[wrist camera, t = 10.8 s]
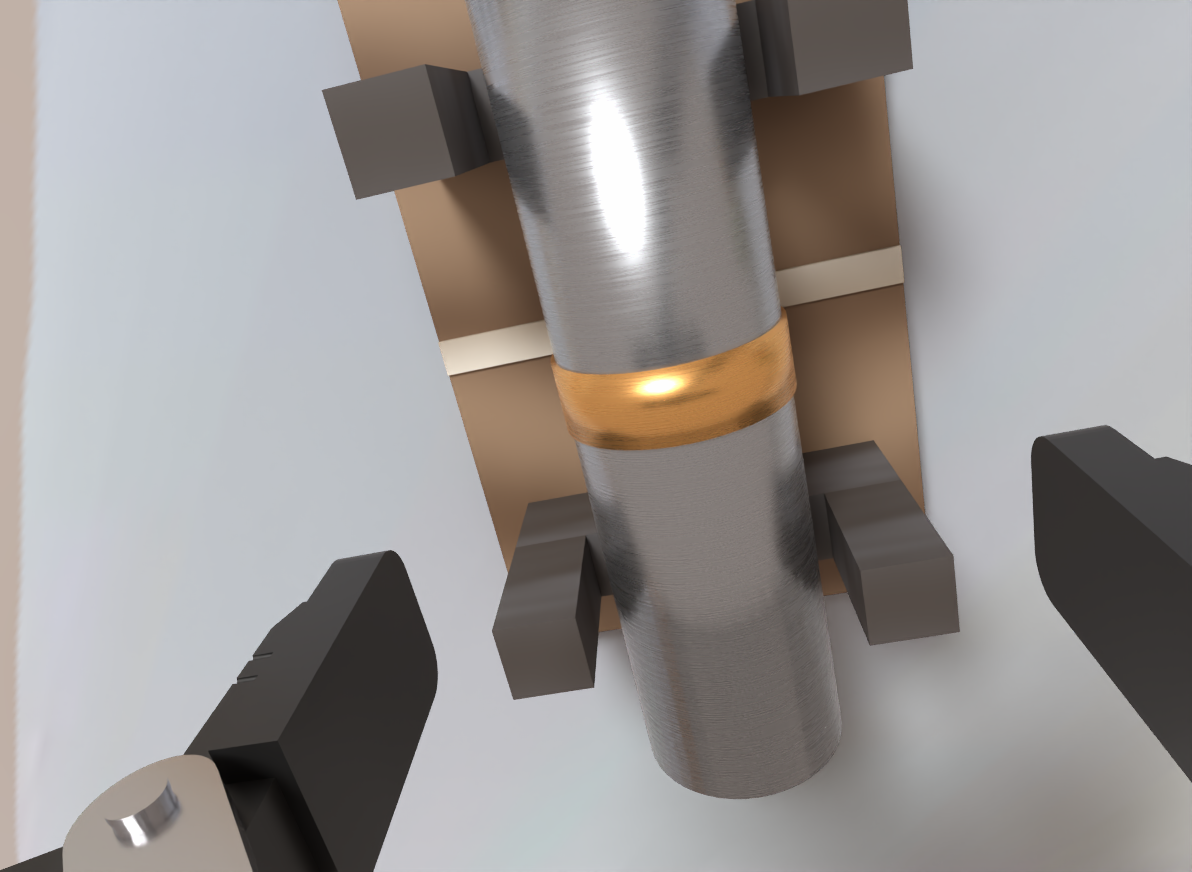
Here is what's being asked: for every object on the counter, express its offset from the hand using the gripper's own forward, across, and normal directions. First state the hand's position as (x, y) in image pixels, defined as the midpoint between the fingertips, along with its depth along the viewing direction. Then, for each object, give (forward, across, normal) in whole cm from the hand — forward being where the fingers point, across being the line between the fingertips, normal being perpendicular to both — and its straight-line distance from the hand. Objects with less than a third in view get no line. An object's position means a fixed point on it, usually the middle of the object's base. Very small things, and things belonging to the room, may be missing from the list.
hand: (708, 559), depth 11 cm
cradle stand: (+15, 0, 0) cm, 15 cm away
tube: (+11, 0, 0) cm, 11 cm away
